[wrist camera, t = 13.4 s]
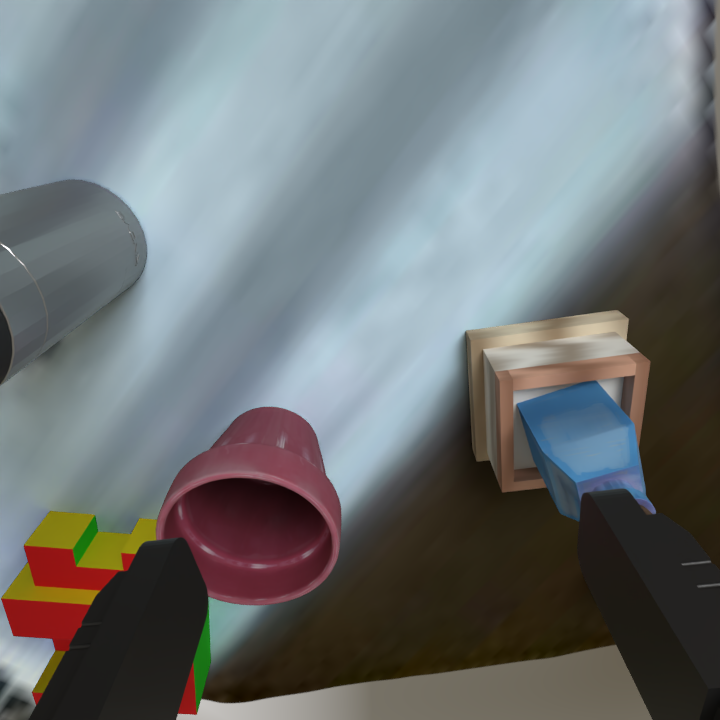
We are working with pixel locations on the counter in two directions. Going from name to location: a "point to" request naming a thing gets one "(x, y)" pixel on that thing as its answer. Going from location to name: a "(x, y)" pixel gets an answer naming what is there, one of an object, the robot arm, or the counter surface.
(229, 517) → the plant pot
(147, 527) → the building blocks toy
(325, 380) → the counter surface
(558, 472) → the perfume bottle
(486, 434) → the pedestal
